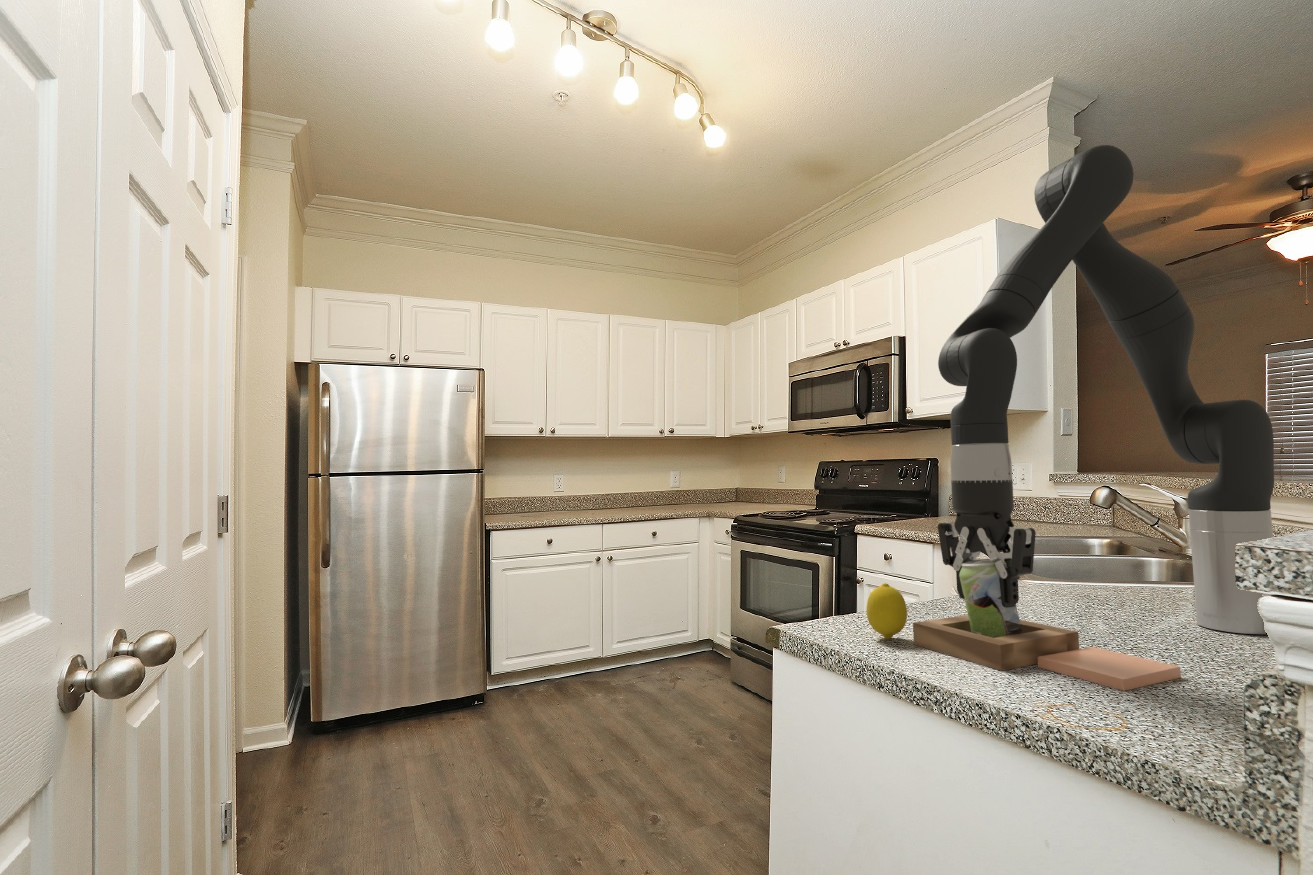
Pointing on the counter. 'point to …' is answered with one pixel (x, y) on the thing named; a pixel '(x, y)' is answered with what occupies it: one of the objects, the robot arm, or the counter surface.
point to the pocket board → (994, 642)
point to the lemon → (886, 610)
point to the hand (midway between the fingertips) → (986, 601)
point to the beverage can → (987, 600)
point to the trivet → (1109, 668)
